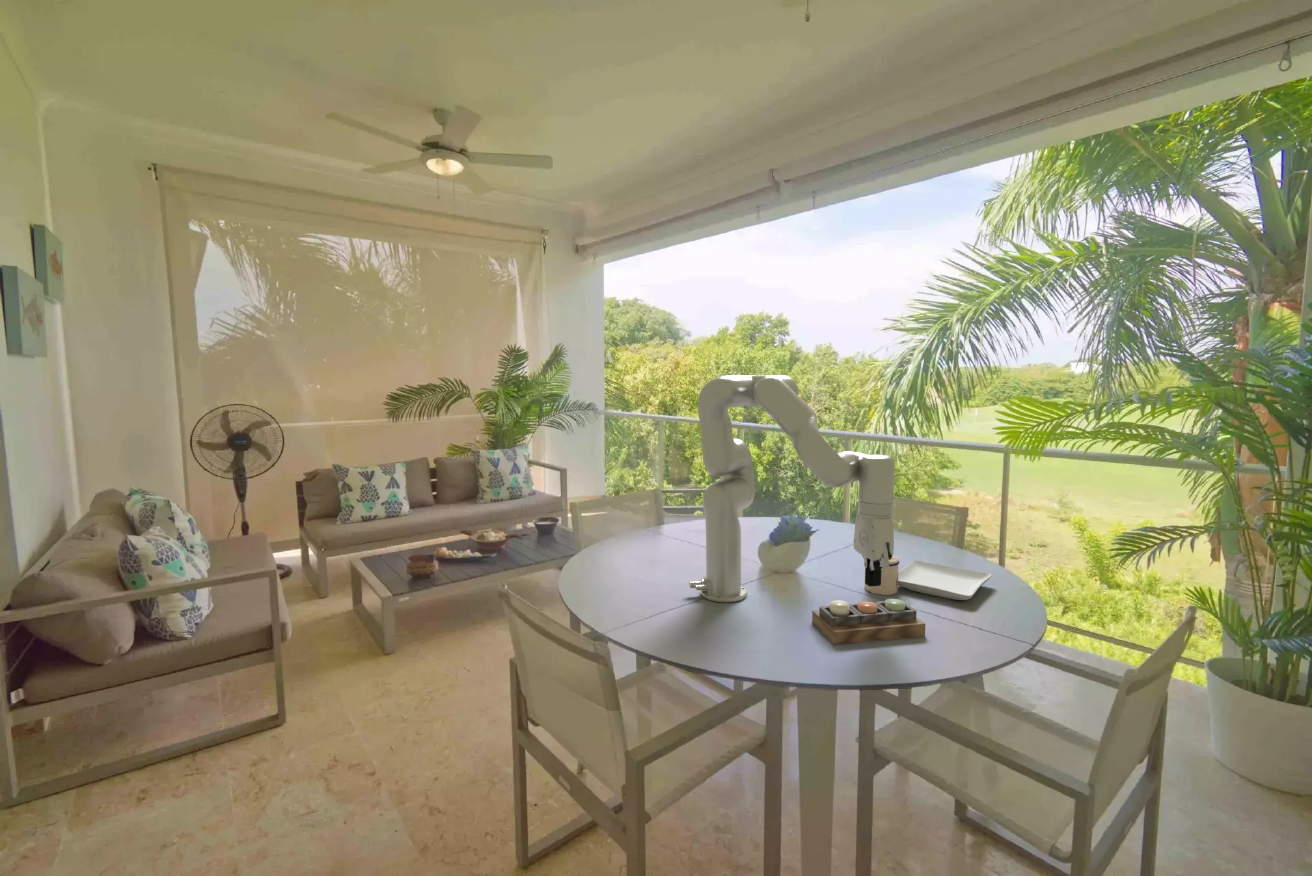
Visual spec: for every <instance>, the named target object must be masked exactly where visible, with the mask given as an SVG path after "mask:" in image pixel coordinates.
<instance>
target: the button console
mask: <svg viewBox="0 0 1312 876" xmlns="http://www.w3.org/2000/svg"><path fill="white" fill-rule="evenodd" d="M872 602H873V603H875V604H877V606H878V607H877V613H870V614H862V613H861V612H859V611H858V610H857V609H858V602H857V603H849V604H850V609H849V615H847V616H833V615H832V614H831V613H830V605H823V606H819V608H818V609H815V610H811V611H812V613H811V615H812V616H811V617H812V619H811V622H812V624H813V625H814V626H815V627H816V628H818V631H820V632H821V633H822V634H824V635H825V637H826V638H827V639H829V641H831V643H833V644H834V646H836V645H847V644H848V645H849V644H856V643H857V644H859V643H869V642H878V641H888V640H889V641H890V640H901V639H907V638H908V639H911V638H919V637H926V623H925V622H924V621H922V620H921V619H919V618H918V617H917V613H918V612H917V610H916V609H915V608H913V607H912V606H910V605H908V604H906V603H905V610H904V611H893V612H891V611H889V610H888V609H886V608H885V600H883V601H882V600H881V601H872Z"/></svg>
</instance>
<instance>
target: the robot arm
mask: <svg viewBox="0 0 1312 876" xmlns="http://www.w3.org/2000/svg"><path fill="white" fill-rule="evenodd" d="M799 391H800V390H799V386H798V384H797V382H796V381H795V380H794V379H793V378H792V377H790V376H789V375H785V374H770V375H753V374H752V375H751V374H750V375H749V374H748V375H747V374H744V375H743V374H739V375H737V374H736V375H730V374H729V375H728V374H727V375H721V376H718V377H717V376H716V377H715V378H713V379H711V380H710V381H708V382H707V383H706V384H705V385H704V386H703V387H702V389H701V390H700V393H699V395H698V398H697V415H698V420H699V425H700V433H701V434H700V439H701V449H702V450H701V451H702V458H703V459H702V460H703V465H704V469H705V470H706V471H707V473H708V474H710V475H711V476H714V477H722V478H723V479H721V480H718V481H716V482H713V483H712V484H710V485H709V486H708V487H707V488H706V489H705V491H704V493H703V496H702V508H703V515H704V521H705V551H706V552H705V558H706V559H705V561H706V562H705V563H706V564H705V566H706V567H705V569H706V575H704V576H703V579H700V580H690V581H689V583H688V585H689V586H688V587H689V589H695V590H696V591H700V594H701V596H702V597H703V598H704V599H706V600H709V601H712V602H718V603H734V602H739V601H742V600H744V599H745V598H746V597H747V595H748V591H747V590H748V589H747V588H746V587H744V585H742V529H741V523H740V520H739V515H738V512H740V511H742V510H745V509H747V508H748V507H750V506H751V504H752V503H753V502H754V499H755V495H756V494H755V493H756V489H755V476H754V466H753V465H754V464H753V457H752V453H751V450H750V448H749V446H748V445H747V444H746V442H744V441H743V440H742V439H740V438H737V437H734V433H733V424H732V420H731V417H730V416H729V414H728V410H729V409H731V408H740V407H760V408H761V409H763V411H764V412H765V413H766V414H767V415H768V417H770V418H771V419H772V420H773V421H774V422H775V423H776V424H777V425H778V427H779V428H781V430H782V431H783V432H784V433H785V434H786V435H787V436H788V438H789V439H790V441H791V443H792V446H793V448H794V450H795V451H796V454H797V456H798V458H799V459H800V460H801V462H802V463H803V464H804V465H805V466H806V467H807V469H808V470H809V471H811V473H812V474H813V475H814V476H815V477H816V478H817V479H818V480H819V481H820V482H822V483H823V484H824V485H827V486H828V487H831V488H836V489H837V488H842V487H844V486H846V485H848V484H850V483H854V482H858V508H857V514H856V517H855V524H854V534H853V549H854V551H856V552H857V553H858V554H860V555H861V556H862V557H863V558H862V559H863V564H864V565H863V566H864V585H865V584H866V585H868V586H869V587H871V586H880V585H881V571H882V570H883V567H889V560H891V559H892V557H893V556H894V551H895V550H894V549H895V546H894V544H895V540H894V539H895V537H894V536H895V535H894V523H893V521H894V520H893V516H894V498H895V497H894V492H895V491H894V490H895V468H896V467H895V466H896V465H895V460H894V458H893V457H891V456H889V455H885V454H865V453H862V452H856V451H852V450H851V451H850V450H844V451H843V450H842V451H840V452H837V451H836V450H835V449H833V447H832V446H831V445H830V444H829V443H828V442H827V440H825V438H824V437H823V436H822V434H821V433H820V431H819V427H818V416H817V413H816V412H815V411H814V410H813V409H812V408H811V407H810V406H809V405H808V404H807V403H806V402H805V401H804V399H802V398H801V397H800V396H799V393H800V392H799ZM865 567H867V568H865Z"/></svg>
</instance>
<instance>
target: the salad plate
mask: <svg viewBox="0 0 1312 876" xmlns="http://www.w3.org/2000/svg"><path fill="white" fill-rule="evenodd" d="M991 577H992V573H988V572H982V571H979V570H971V569H967V568H961V567H958V566H950V565H945V564H939V563H934V562H928V561H922V560H913V561H911V562H910V563H909V564H907V565H905V566H904V567H902V568H901V569H900V570H898V587H901V588H904V589H907V590H910V591H913V592H918V593H921V594H926V595H931V596H936V597H940V598H944V599H945V598H946V599H950V600H954V601H965V600H966V601H967V600H970V599H971V598H973V596H974V595H975V594H976V592H977V591H978V589H980V588H981V586H983V585H984V584H985V583H986V582H988V581H989V580H990V579H991Z"/></svg>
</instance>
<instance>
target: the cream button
mask: <svg viewBox="0 0 1312 876" xmlns="http://www.w3.org/2000/svg"><path fill="white" fill-rule="evenodd" d="M850 604H851V603H849V602H847V601H846V600H841V599H835V600H831V601H830V602H829V606H830V613H831V614H832V615H833V616H847V615H849V609H850Z"/></svg>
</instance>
